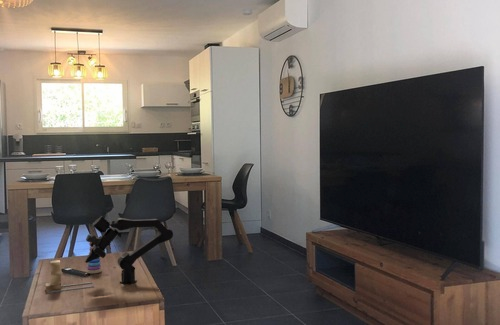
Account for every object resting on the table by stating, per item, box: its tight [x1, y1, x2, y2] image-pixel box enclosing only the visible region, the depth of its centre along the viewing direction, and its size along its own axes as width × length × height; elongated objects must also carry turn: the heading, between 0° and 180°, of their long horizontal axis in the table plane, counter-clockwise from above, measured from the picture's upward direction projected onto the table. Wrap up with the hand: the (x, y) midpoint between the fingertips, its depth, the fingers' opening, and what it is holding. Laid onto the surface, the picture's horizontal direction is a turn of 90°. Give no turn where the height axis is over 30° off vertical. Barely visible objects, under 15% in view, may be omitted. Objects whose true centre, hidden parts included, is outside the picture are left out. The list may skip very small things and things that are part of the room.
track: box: [46, 281, 94, 294], centre depth 265 cm, size 22×8×1 cm, turn 114°
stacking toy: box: [86, 242, 102, 274], centre depth 298 cm, size 8×8×19 cm
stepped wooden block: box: [45, 259, 62, 293], centre depth 261 cm, size 7×6×14 cm
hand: (85, 262), depth 267 cm, fingers closed
